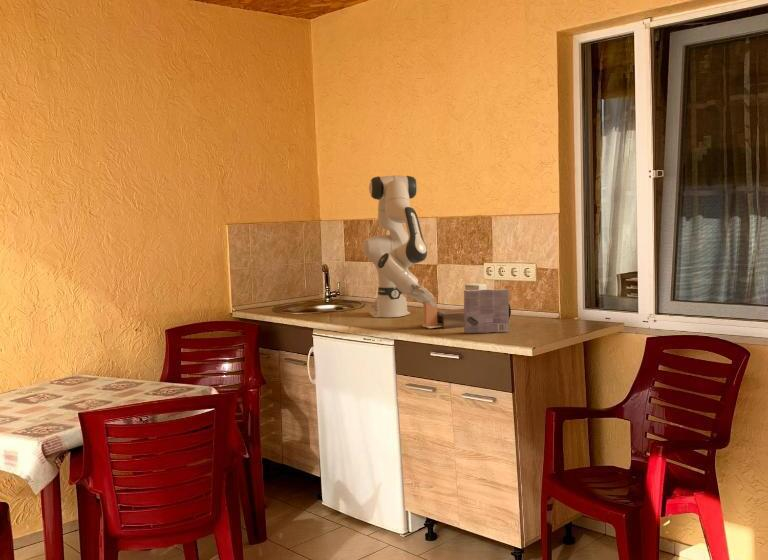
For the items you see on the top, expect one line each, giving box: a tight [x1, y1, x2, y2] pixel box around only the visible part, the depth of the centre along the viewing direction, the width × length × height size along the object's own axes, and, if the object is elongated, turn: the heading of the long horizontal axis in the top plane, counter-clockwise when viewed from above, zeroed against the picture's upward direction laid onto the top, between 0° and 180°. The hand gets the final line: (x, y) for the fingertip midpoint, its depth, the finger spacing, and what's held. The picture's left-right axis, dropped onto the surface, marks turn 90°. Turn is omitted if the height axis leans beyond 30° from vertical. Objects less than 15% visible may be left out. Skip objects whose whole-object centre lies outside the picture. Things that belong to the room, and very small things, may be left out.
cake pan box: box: [463, 288, 512, 334], centre depth 334 cm, size 19×5×18 cm, turn 88°
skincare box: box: [464, 282, 488, 290], centre depth 377 cm, size 8×7×16 cm
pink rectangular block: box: [421, 296, 443, 329], centre depth 355 cm, size 8×21×13 cm, turn 110°
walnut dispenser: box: [437, 308, 464, 330], centre depth 357 cm, size 13×18×7 cm
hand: (430, 304), depth 352 cm, fingers open, 8 cm apart
